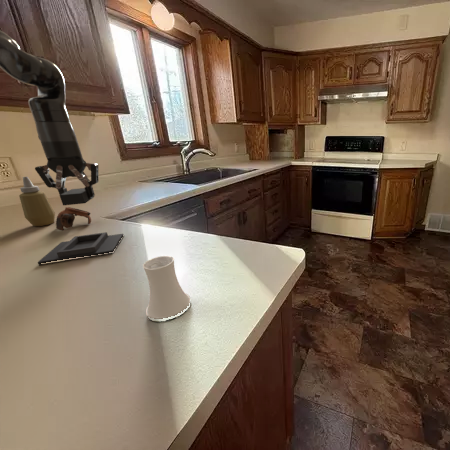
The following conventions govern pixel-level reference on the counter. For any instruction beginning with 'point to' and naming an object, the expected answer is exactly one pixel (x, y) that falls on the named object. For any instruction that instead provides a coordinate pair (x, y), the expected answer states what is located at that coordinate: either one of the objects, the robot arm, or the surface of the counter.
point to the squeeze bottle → (35, 205)
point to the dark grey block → (74, 197)
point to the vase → (164, 289)
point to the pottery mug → (70, 217)
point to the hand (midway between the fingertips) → (79, 199)
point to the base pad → (83, 247)
